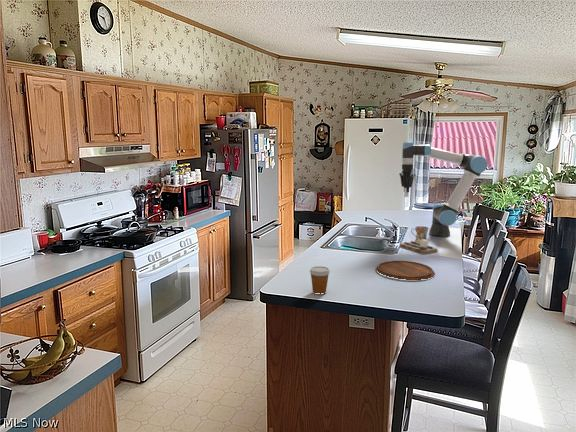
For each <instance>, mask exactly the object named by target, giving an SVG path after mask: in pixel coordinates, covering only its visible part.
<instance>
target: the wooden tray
mask: <svg viewBox="0 0 576 432" xmlns="http://www.w3.org/2000/svg"><path fill="white" fill-rule="evenodd" d="M400 246H401V247H400ZM399 247H400V248H403V247H404V248H403V249H407V250H410V251H413V252H416V253H419V254H422V255H427V254H431V253H437V252H438V248H436V247H434V246H431V245H428V248H425V247H421V246H420V243H418V242H416V241H415V240H410V241H404V242H402V243H399Z"/></svg>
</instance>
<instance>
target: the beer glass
mask: <svg viewBox="0 0 576 432" xmlns="http://www.w3.org/2000/svg"><path fill="white" fill-rule="evenodd" d="M330 272H331V271H330V269H329V267H327V266H321V265H318V266H316V265H315V266H313V267H312V266H311V268H310V270H309V273H310V277H311V279H310V280H311V286H312V287H311V288H312V293H313V292H314V293H320V294H321V293H325V292H326V293H327V289H328V281H329V280H328V279H329V274H330ZM314 293H313V294H314ZM326 293H325V294H326Z"/></svg>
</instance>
